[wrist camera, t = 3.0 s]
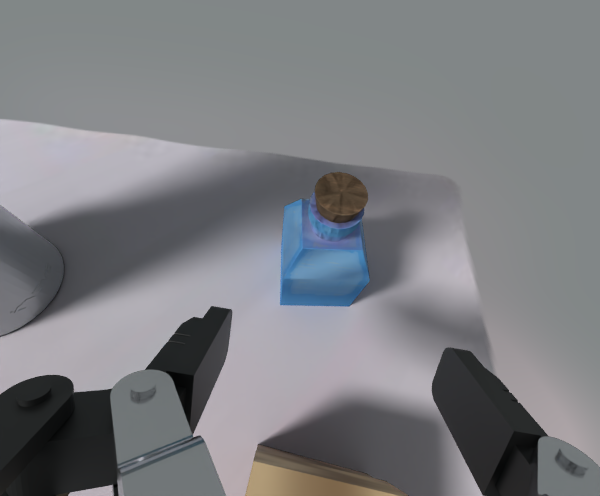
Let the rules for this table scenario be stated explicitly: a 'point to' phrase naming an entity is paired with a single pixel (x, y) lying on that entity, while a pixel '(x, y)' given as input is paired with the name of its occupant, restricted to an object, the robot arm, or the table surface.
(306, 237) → the perfume bottle
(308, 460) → the tower bottom block
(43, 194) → the table surface
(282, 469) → the tower top block
